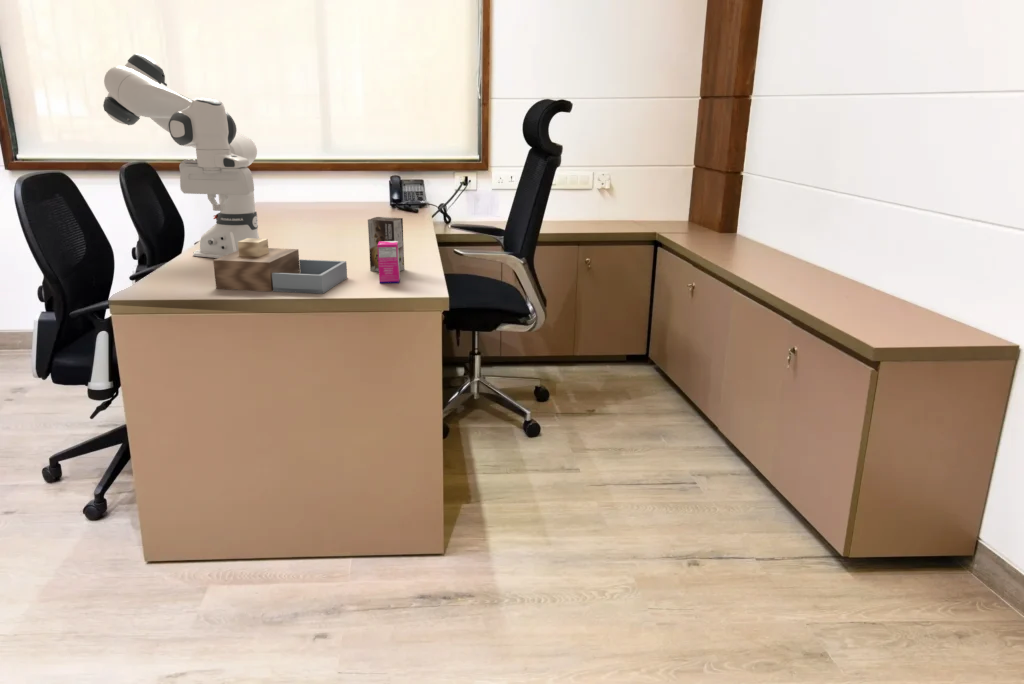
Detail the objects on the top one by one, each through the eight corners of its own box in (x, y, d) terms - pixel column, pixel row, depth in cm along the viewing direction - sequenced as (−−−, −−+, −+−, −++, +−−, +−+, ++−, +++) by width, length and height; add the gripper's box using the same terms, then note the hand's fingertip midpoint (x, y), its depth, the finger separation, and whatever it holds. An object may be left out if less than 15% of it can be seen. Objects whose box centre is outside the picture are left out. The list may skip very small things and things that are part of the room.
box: (273, 291, 204) (271, 273, 203) (301, 275, 223) (300, 259, 222) (322, 293, 203) (321, 275, 201) (347, 277, 222) (346, 261, 220)
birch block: (239, 255, 210) (237, 241, 209) (248, 251, 216) (247, 238, 214) (259, 256, 209) (258, 242, 208) (268, 252, 215) (267, 238, 214)
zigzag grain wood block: (216, 288, 206) (213, 260, 204) (249, 273, 225) (246, 247, 223) (271, 291, 204) (269, 262, 202) (300, 275, 223) (298, 249, 221)
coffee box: (405, 269, 235) (403, 217, 230) (395, 273, 229) (394, 220, 224) (379, 267, 237) (377, 216, 233) (369, 270, 232) (367, 218, 227)
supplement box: (380, 279, 221) (378, 240, 217) (400, 279, 221) (399, 240, 218) (378, 283, 215) (377, 244, 212) (399, 283, 216) (398, 244, 212)
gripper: (172, 159, 204) (178, 210, 208) (243, 161, 201) (248, 213, 206) (184, 158, 210) (190, 208, 214) (254, 160, 207) (258, 210, 212)
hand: (219, 210), depth 210 cm, fingers closed
